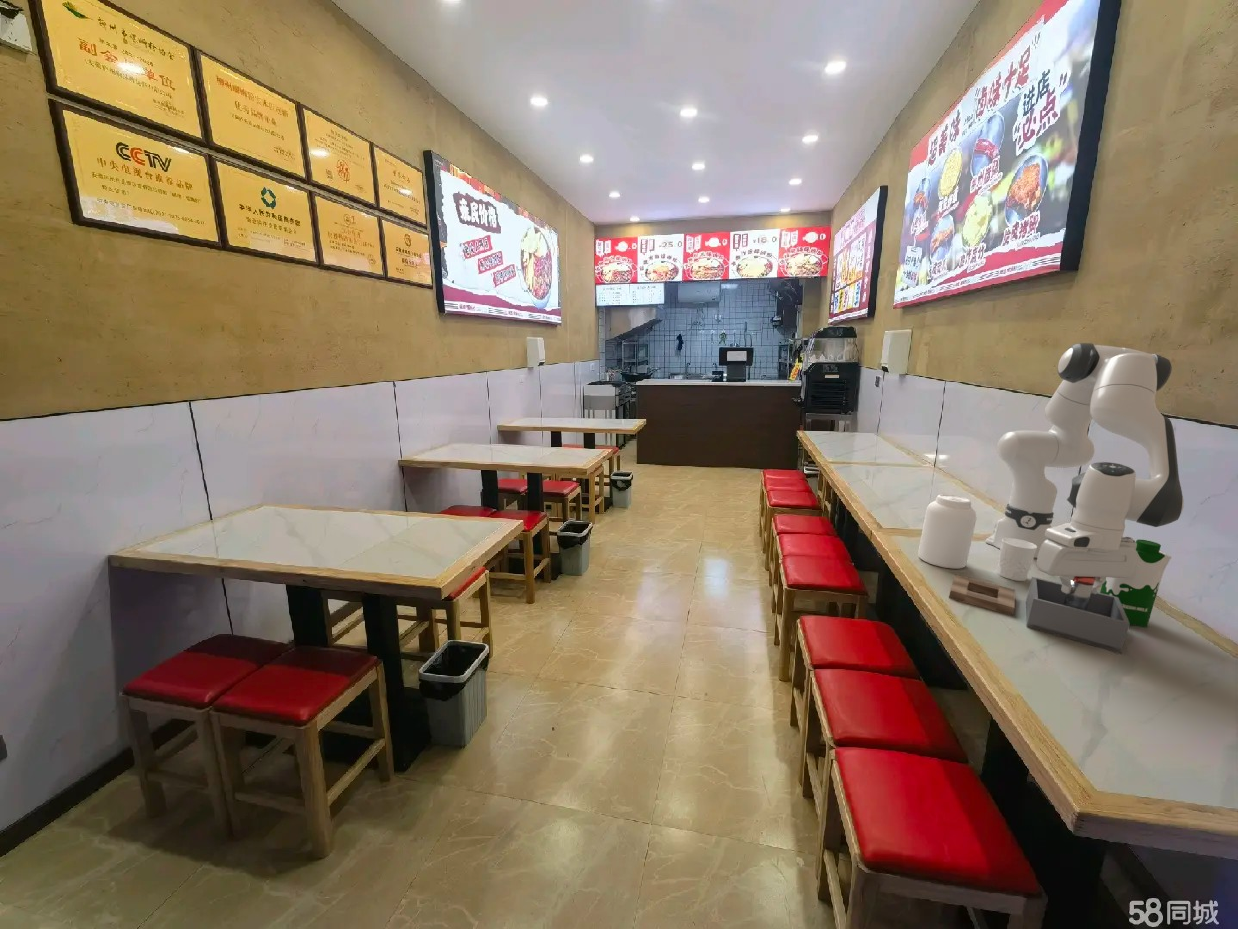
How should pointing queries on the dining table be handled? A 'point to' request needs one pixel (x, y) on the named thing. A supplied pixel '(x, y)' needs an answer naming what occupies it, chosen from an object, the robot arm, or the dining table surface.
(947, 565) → the can
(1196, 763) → the dining table surface
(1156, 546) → the milk carton
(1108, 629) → the bin
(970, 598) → the socket block
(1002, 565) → the white cup
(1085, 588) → the red and grey cylinder
